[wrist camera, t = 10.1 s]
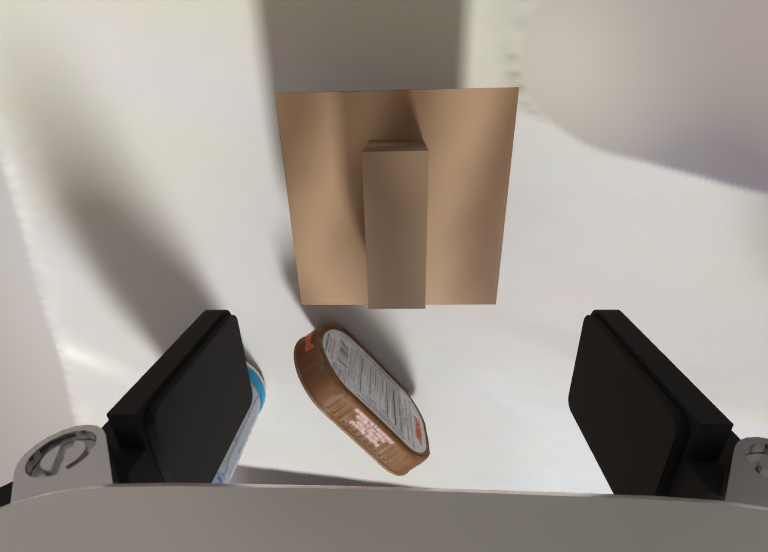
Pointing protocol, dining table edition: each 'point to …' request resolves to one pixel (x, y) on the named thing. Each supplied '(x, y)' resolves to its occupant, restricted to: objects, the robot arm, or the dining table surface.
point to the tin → (361, 398)
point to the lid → (398, 194)
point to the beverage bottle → (243, 428)
